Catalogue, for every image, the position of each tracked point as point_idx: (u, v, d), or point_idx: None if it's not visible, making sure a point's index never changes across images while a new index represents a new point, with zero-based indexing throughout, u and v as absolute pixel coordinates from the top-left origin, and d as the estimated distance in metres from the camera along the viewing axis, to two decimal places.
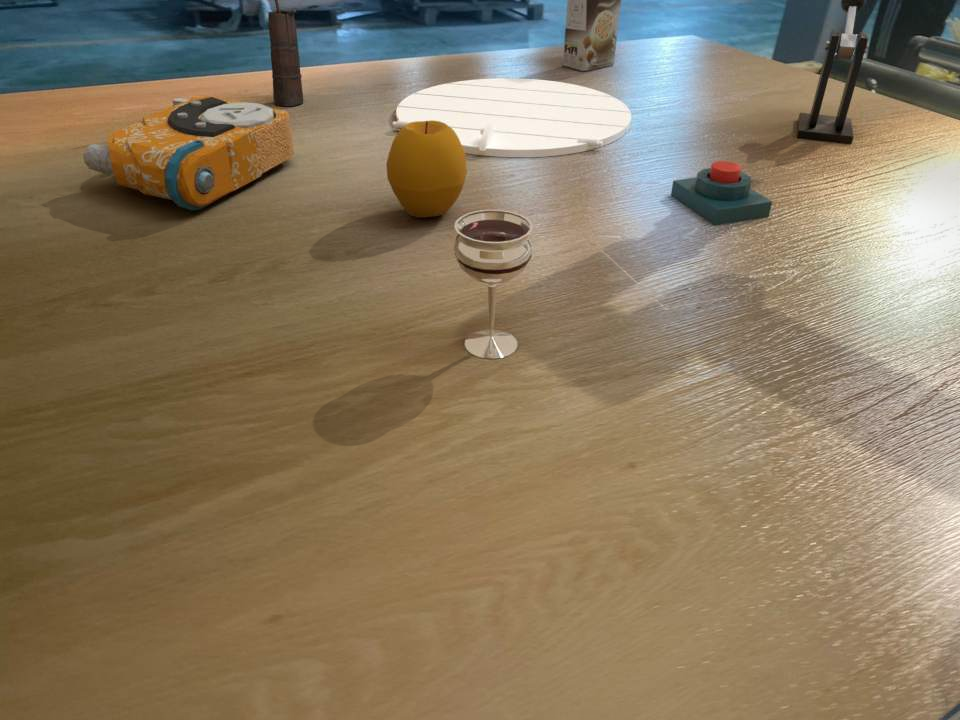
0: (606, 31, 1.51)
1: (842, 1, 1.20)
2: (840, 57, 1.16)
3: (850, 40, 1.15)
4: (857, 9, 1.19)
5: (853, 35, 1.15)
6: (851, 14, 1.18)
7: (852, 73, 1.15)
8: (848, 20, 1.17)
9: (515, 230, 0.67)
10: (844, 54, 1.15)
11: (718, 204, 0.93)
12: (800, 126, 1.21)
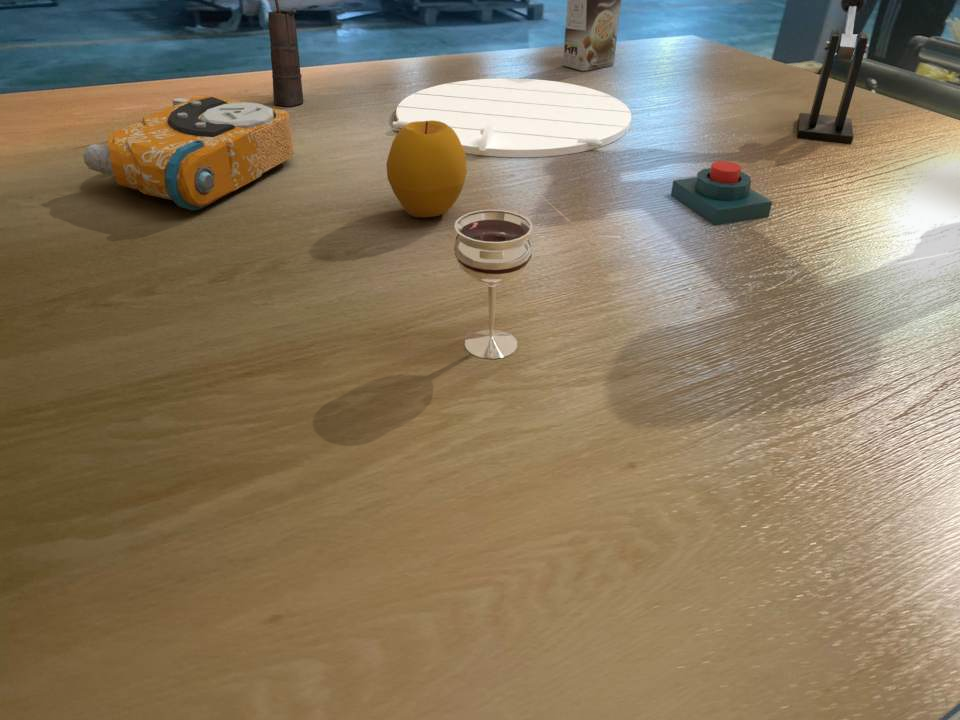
0: (606, 31, 1.51)
1: (842, 1, 1.20)
2: (840, 57, 1.16)
3: (850, 40, 1.15)
4: (857, 9, 1.19)
5: (853, 35, 1.15)
6: (851, 14, 1.18)
7: (852, 73, 1.15)
8: (848, 20, 1.17)
9: (515, 230, 0.67)
10: (844, 54, 1.15)
11: (718, 204, 0.93)
12: (800, 126, 1.21)
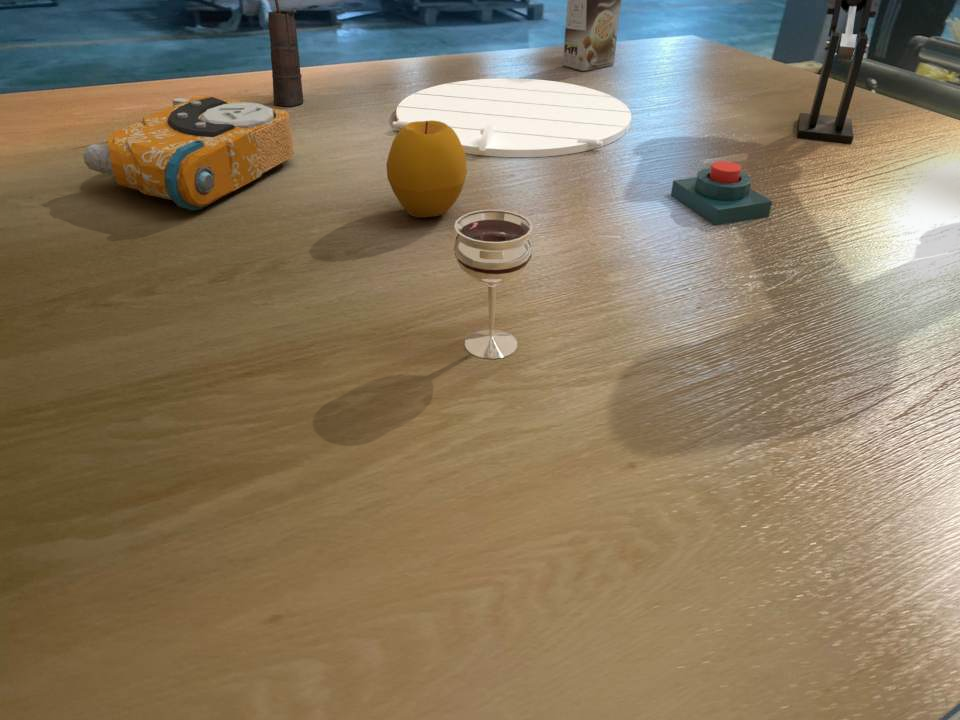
0: (606, 31, 1.51)
1: (842, 1, 1.20)
2: (840, 57, 1.16)
3: (850, 40, 1.15)
4: (857, 9, 1.19)
5: (853, 35, 1.15)
6: (851, 14, 1.18)
7: (852, 73, 1.15)
8: (848, 20, 1.17)
9: (515, 230, 0.67)
10: (844, 54, 1.15)
11: (718, 204, 0.93)
12: (800, 126, 1.21)
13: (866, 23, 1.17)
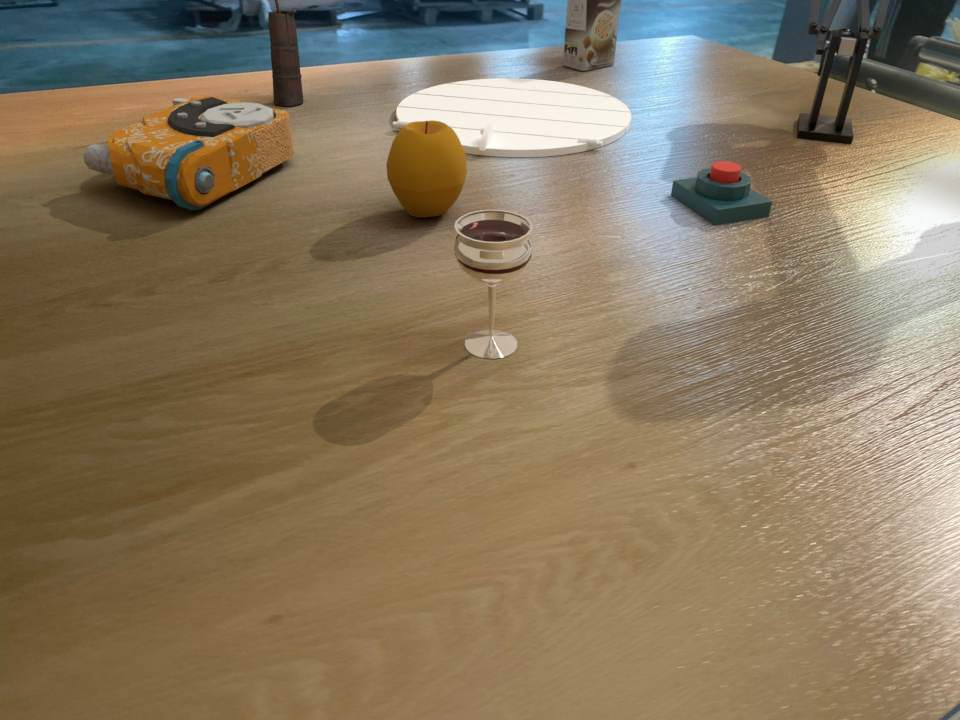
0: (606, 31, 1.51)
1: None
2: (841, 53, 1.15)
3: (850, 38, 1.15)
4: None
5: None
6: None
7: (852, 73, 1.15)
8: None
9: (515, 230, 0.67)
10: (846, 49, 1.15)
11: (718, 204, 0.93)
12: (800, 126, 1.21)
13: None
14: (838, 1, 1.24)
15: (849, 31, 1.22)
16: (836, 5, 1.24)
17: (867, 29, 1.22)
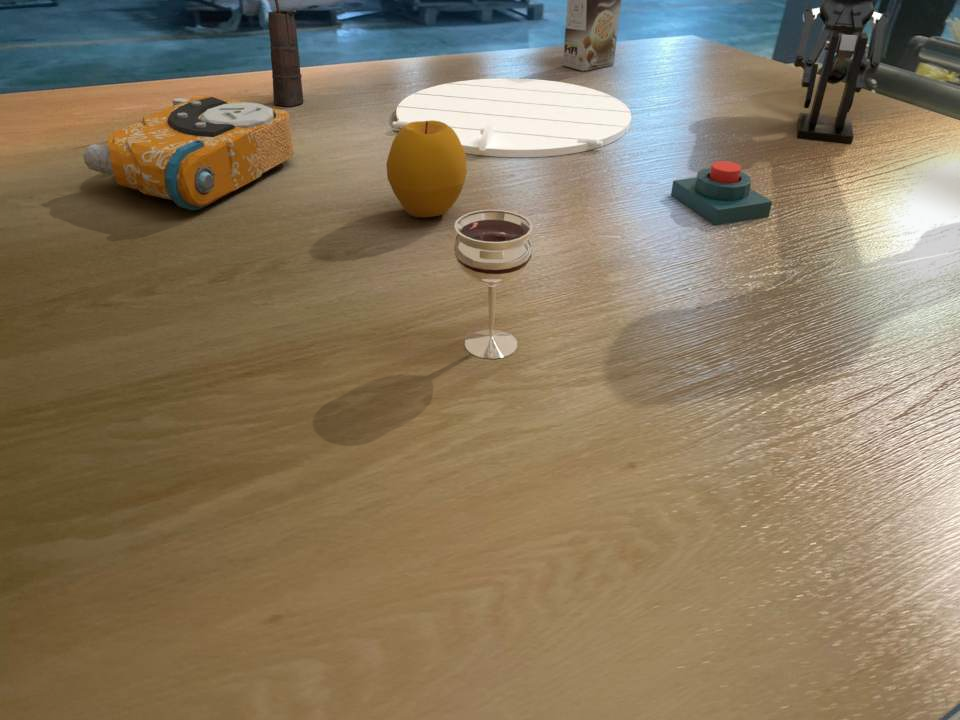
0: (606, 31, 1.51)
1: None
2: (843, 48, 1.15)
3: None
4: (841, 70, 1.24)
5: None
6: None
7: (852, 73, 1.15)
8: None
9: (515, 230, 0.67)
10: (847, 44, 1.14)
11: (718, 204, 0.93)
12: (800, 126, 1.21)
13: (852, 99, 1.23)
14: (826, 36, 1.27)
15: None
16: (824, 40, 1.27)
17: (865, 64, 1.23)
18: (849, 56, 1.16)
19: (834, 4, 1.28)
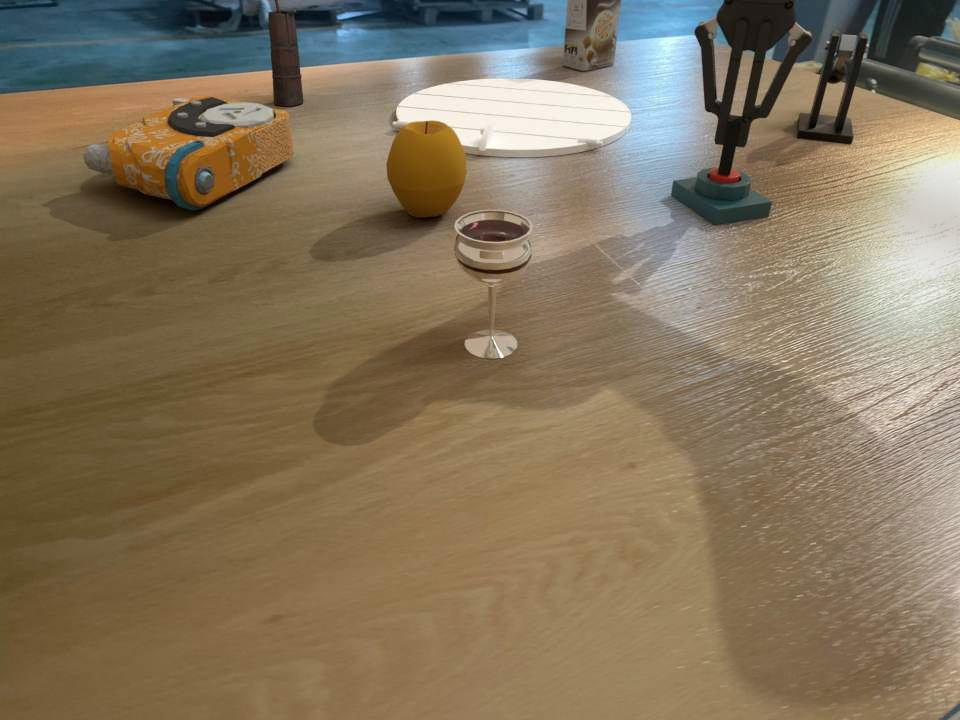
0: (606, 31, 1.51)
1: None
2: (843, 48, 1.15)
3: None
4: (841, 70, 1.24)
5: None
6: None
7: (852, 73, 1.15)
8: None
9: (515, 230, 0.67)
10: (847, 44, 1.14)
11: (718, 204, 0.93)
12: (800, 126, 1.21)
13: (729, 168, 0.94)
14: (736, 72, 0.88)
15: None
16: (734, 78, 0.88)
17: (746, 122, 0.89)
18: (849, 56, 1.16)
19: (736, 13, 0.85)
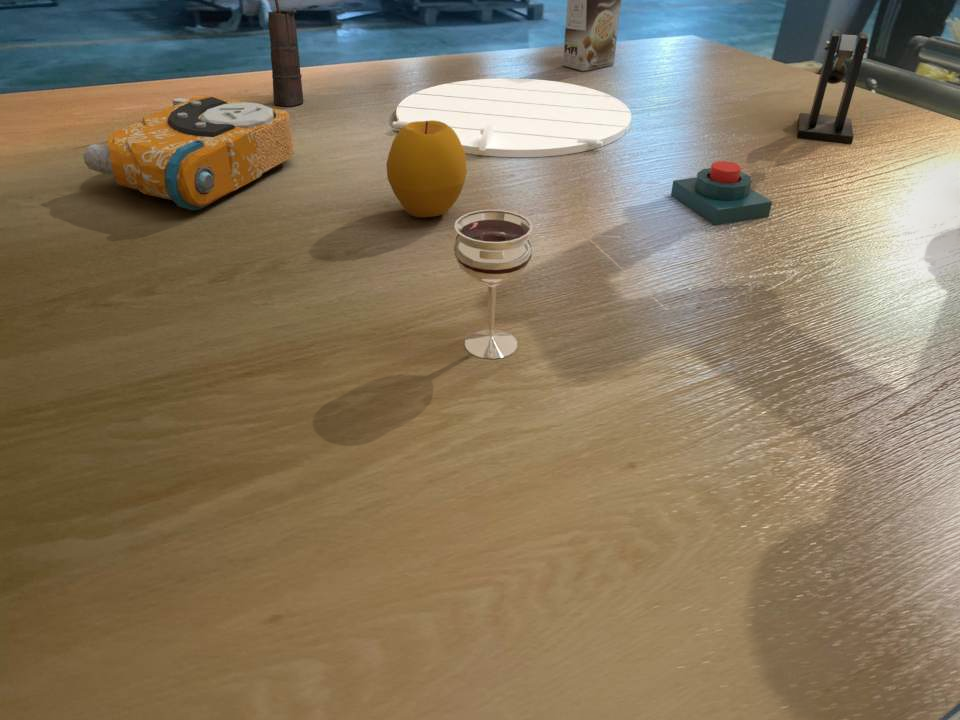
0: (606, 31, 1.51)
1: None
2: (843, 48, 1.15)
3: None
4: (841, 70, 1.24)
5: None
6: None
7: (852, 73, 1.15)
8: None
9: (515, 230, 0.67)
10: (847, 44, 1.14)
11: (718, 204, 0.93)
12: (800, 126, 1.21)
13: None
14: None
15: None
16: None
17: None
18: (849, 56, 1.16)
19: None
